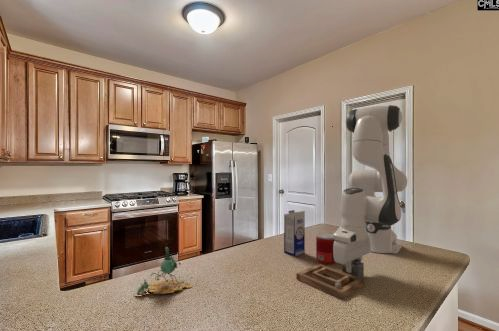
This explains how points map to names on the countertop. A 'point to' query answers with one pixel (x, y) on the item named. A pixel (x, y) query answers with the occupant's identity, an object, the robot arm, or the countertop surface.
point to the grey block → (356, 268)
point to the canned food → (324, 248)
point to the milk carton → (294, 233)
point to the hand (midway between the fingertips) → (353, 269)
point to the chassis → (330, 280)
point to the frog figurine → (168, 285)
